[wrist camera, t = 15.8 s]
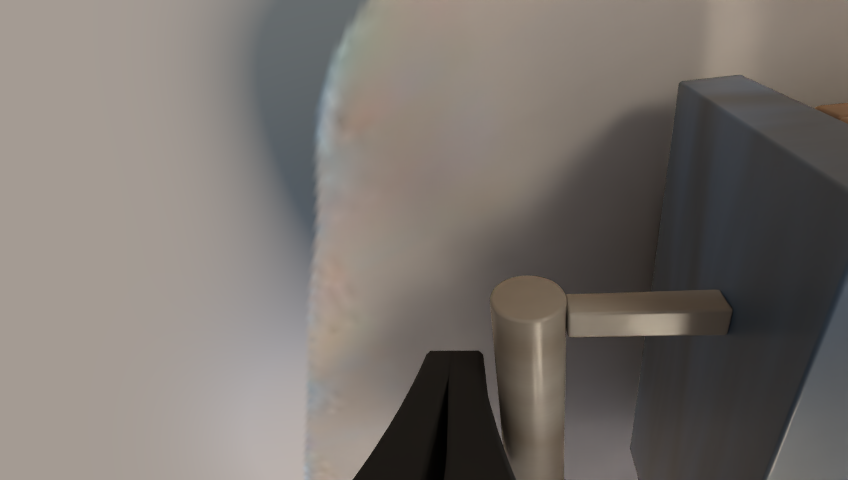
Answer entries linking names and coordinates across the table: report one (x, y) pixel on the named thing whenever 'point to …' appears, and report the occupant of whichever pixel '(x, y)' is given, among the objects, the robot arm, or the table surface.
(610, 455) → the table surface
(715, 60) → the table surface
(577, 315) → the drawer
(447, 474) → the robot arm
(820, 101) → the table surface
